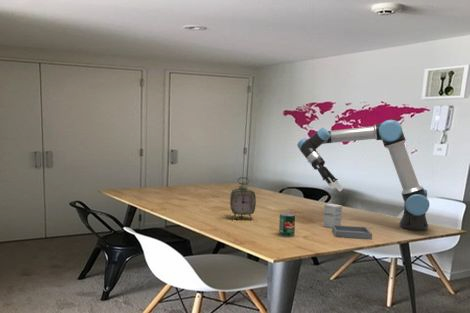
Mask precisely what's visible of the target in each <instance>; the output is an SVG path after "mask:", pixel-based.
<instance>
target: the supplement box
mask: <svg viewBox="0 0 470 313" xmlns="http://www.w3.org/2000/svg"><path fill="white" fill-rule="evenodd" d="M342 209H343V205H341V204H340V205H339V204H335V203H326V204H324V207H323V210H324V211H323V227H324V228H329V229H332V225H338V226H342V211H343V210H342Z"/></svg>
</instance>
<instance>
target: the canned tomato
mask: <svg viewBox="0 0 470 313" xmlns="http://www.w3.org/2000/svg"><path fill="white" fill-rule="evenodd" d="M295 225H296V214H295V213H292V212H280V213H279V226H278V227H279V229H278V235H279V236H280V237H281V238H282V237H283V238H293V237H295V231H296V230H295V229H296V226H295Z"/></svg>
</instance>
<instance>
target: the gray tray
mask: <svg viewBox="0 0 470 313" xmlns="http://www.w3.org/2000/svg"><path fill="white" fill-rule="evenodd" d="M331 232H332V233H333V235H334V237H335V238H342V237H344V238H346V239H357V240H359V239H360V240H373V233H372V232H371V231H370V229H368V228H367V226H366V227H365V226H353V225H352V226H351V225H341V226H338V225H332V228H331Z"/></svg>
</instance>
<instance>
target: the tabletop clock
mask: <svg viewBox="0 0 470 313" xmlns="http://www.w3.org/2000/svg"><path fill="white" fill-rule="evenodd" d="M241 179H244V180H245V179H246V180H247V181H248V182H244V181H242V182H239V180H241ZM237 183H238V184H240V185H239V186H238V188H234V189H232V190H231V193H230V198H229V200H230V201H229V204H230V210H231V212H232V214H234V215H233V216H232V218H231V219H232V220H233V221H234V220H235V216H236V215H240V217H239V218H240V219H243V218H244V215H245V216H247V215H248V216H249V219H250V220H251V221H252V220H253V219H254V218H253V217H252V215H253V214H254V212H255V210H256V206H257V205H256V204H257V200H256V194H255V191H253V190H252V189H249V188H248V187H247V185H248V184H249V183H250V179H249V178H248V177H245V176H244V177H243V176H242V177H239V178H237Z"/></svg>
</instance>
